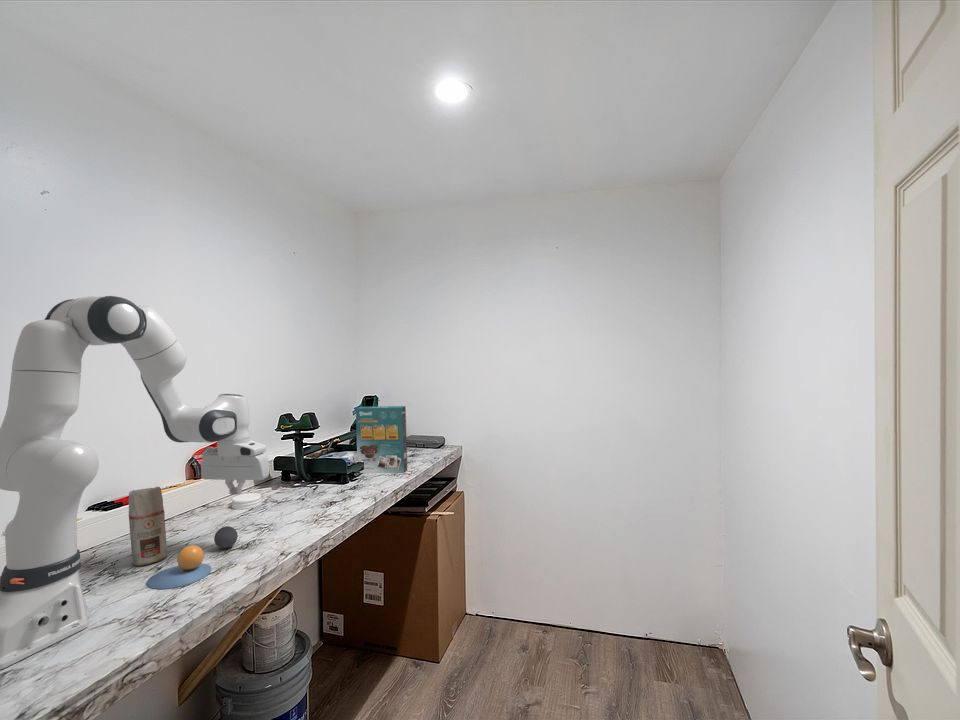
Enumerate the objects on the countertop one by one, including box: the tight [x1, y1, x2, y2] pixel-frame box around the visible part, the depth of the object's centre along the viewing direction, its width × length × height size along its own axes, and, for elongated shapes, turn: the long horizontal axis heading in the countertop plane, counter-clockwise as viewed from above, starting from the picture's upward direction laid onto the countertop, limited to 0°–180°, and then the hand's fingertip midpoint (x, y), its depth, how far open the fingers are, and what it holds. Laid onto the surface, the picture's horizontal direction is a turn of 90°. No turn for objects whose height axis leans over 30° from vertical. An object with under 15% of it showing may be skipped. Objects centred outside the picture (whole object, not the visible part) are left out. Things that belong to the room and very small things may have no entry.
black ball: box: [213, 526, 238, 549], centre depth 143 cm, size 6×6×6 cm
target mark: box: [146, 562, 212, 590], centre depth 125 cm, size 14×14×1 cm
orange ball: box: [176, 544, 205, 570], centre depth 129 cm, size 6×6×6 cm
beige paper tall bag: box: [128, 486, 168, 566], centre depth 135 cm, size 8×8×20 cm
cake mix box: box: [355, 405, 408, 474], centre depth 229 cm, size 22×6×30 cm, turn 82°
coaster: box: [230, 492, 262, 510], centre depth 183 cm, size 10×10×4 cm
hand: (235, 494), depth 147 cm, fingers closed
